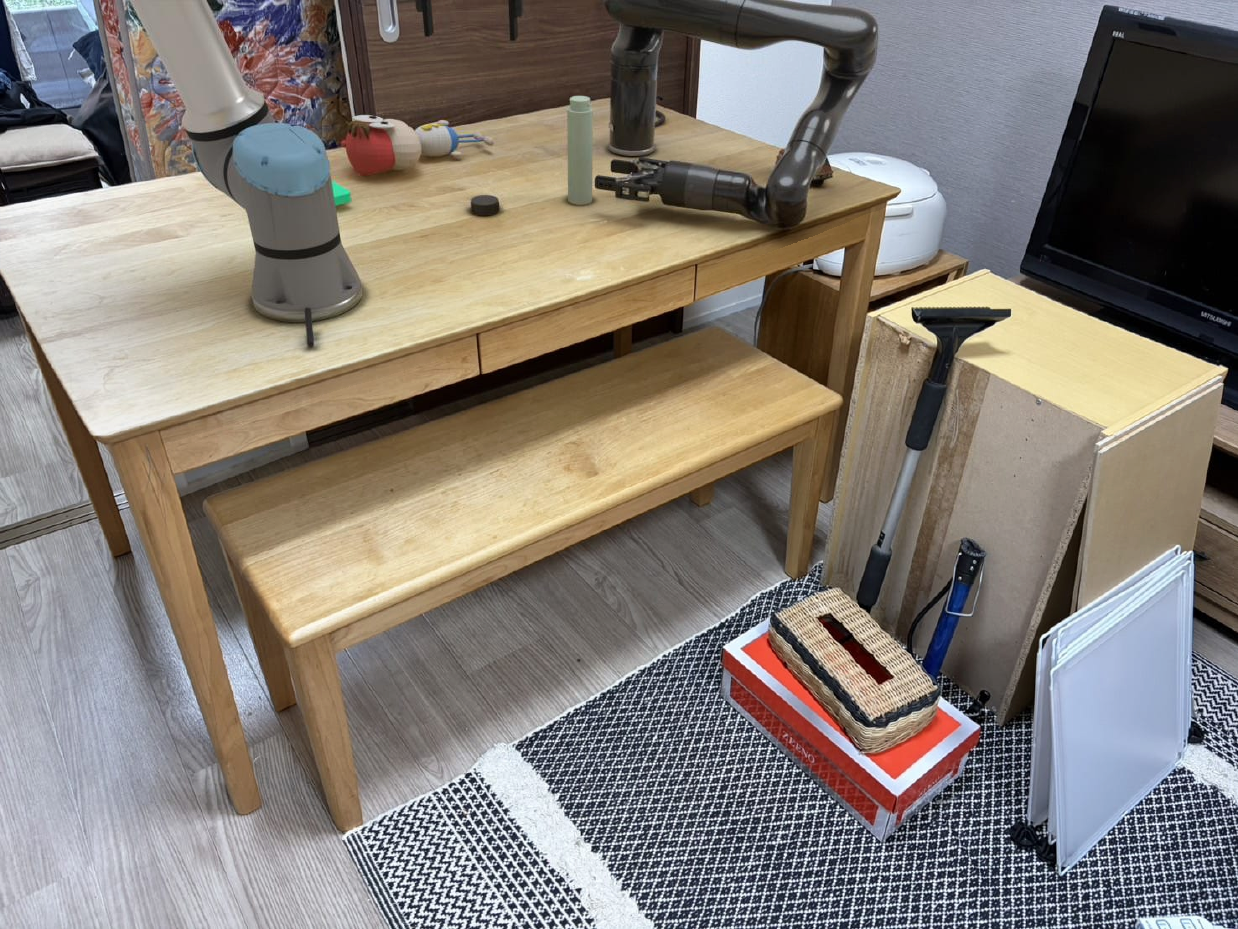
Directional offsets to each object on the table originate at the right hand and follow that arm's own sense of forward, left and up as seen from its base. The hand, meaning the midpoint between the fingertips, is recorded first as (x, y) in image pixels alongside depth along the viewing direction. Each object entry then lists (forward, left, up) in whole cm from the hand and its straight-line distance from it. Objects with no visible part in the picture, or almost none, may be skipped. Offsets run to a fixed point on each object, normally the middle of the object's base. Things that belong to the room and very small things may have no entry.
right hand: (603, 173), depth 164 cm
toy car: (-27, +32, -6) cm, 42 cm away
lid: (+11, -18, -4) cm, 22 cm away
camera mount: (+19, -47, -6) cm, 51 cm away
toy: (-7, -41, -6) cm, 42 cm away
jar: (0, -5, -6) cm, 7 cm away
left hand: (+11, -19, +23) cm, 31 cm away
